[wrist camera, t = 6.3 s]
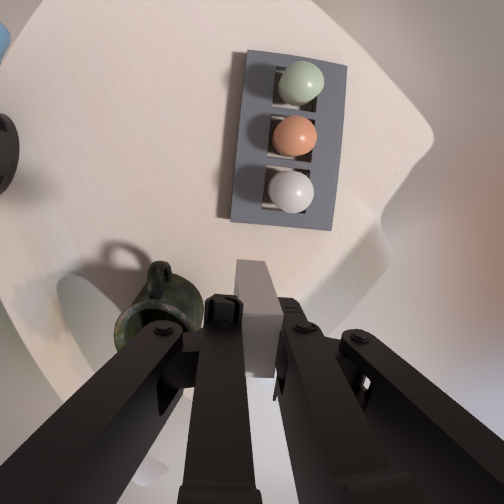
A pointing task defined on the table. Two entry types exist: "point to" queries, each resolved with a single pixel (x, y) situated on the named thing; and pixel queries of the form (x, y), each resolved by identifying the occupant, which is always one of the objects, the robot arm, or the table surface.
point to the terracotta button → (294, 136)
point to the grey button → (290, 191)
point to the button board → (255, 159)
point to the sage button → (300, 83)
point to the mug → (161, 305)
